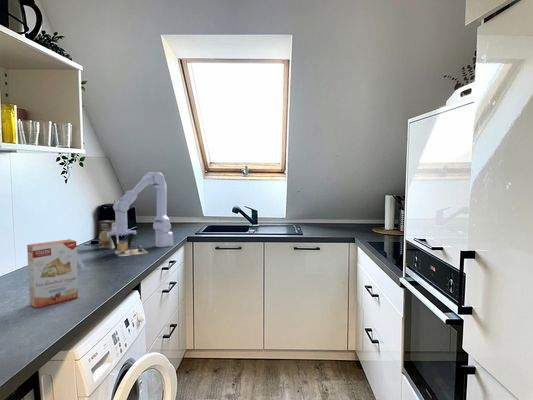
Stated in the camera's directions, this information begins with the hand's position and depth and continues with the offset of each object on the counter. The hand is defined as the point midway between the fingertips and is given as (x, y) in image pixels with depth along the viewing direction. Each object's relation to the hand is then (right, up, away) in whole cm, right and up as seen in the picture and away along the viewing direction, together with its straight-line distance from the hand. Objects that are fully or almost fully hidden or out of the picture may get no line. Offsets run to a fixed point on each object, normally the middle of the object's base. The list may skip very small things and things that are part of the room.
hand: (122, 248), depth 198 cm
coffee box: (-14, -2, +16) cm, 22 cm away
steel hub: (0, -2, 0) cm, 2 cm away
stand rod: (+8, -2, +5) cm, 9 cm away
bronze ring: (0, -1, 0) cm, 1 cm away
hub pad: (0, -2, 0) cm, 2 cm away
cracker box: (+3, -10, -68) cm, 69 cm away
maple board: (+4, -3, +3) cm, 6 cm away
